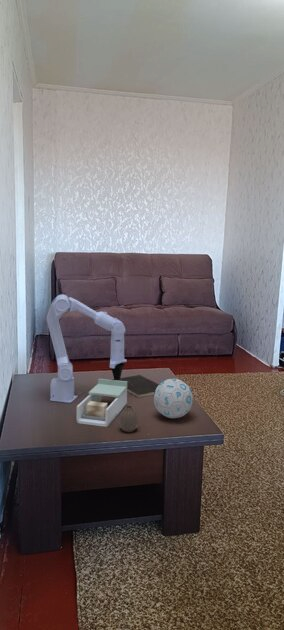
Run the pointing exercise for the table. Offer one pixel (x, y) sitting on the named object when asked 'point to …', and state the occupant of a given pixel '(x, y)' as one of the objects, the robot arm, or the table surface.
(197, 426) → the table surface
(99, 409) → the tan rectangular block
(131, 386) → the hardcover book
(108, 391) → the lid
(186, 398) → the puzzle ball
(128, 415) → the vase
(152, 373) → the table surface
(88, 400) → the housing
